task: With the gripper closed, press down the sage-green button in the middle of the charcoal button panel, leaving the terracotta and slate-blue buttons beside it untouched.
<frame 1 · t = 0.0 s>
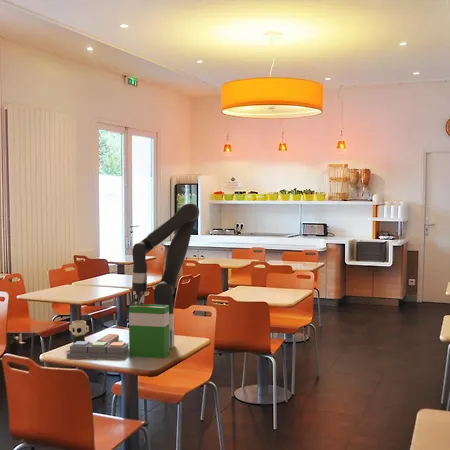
hand: (138, 312, 300), 17 cm above the table, tool pointing down, fingers open, 8 cm apart
terracotta button: (117, 345, 282), point 5 cm above the table, slide at 0.0 cm
packaged product: (107, 346, 302), on the table
green cereal box: (149, 355, 283), on the table
slate button: (81, 344, 284), point 5 cm above the table, slide at 0.0 cm
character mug: (79, 347, 298), on the table
button panel: (99, 355, 283), on the table
sage button: (99, 345, 283), point 5 cm above the table, slide at 0.0 cm
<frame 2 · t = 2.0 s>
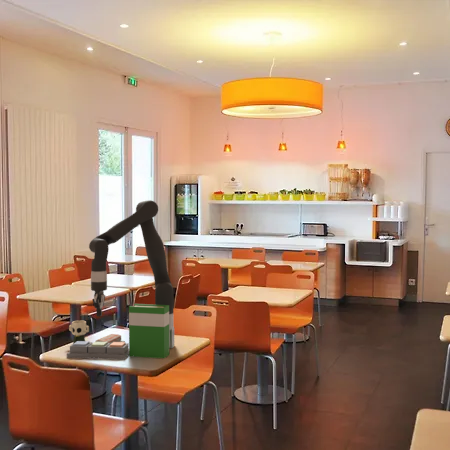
hand: (99, 316, 282), 19 cm above the table, tool pointing down, fingers closed
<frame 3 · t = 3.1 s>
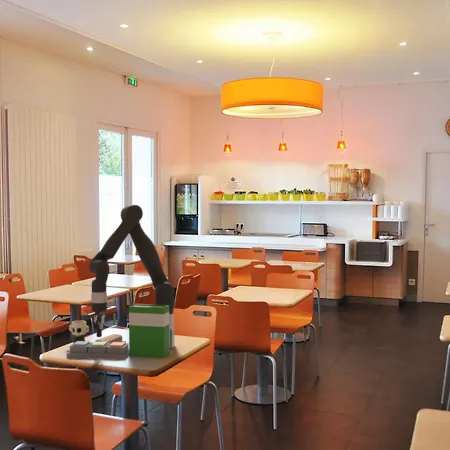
hand: (99, 336, 283), 9 cm above the table, tool pointing down, fingers closed
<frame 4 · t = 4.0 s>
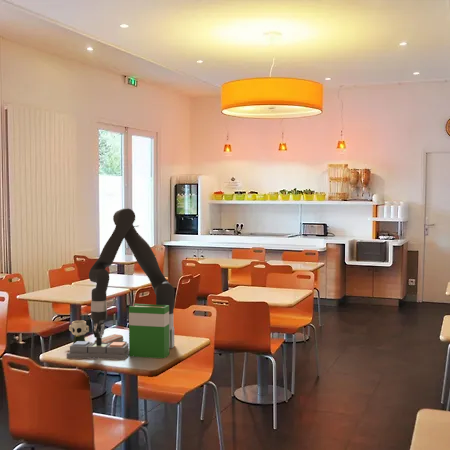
hand: (99, 345, 283), 5 cm above the table, tool pointing down, fingers closed
sage button: (99, 347, 283), point 4 cm above the table, slide at 1.1 cm, touching gripper
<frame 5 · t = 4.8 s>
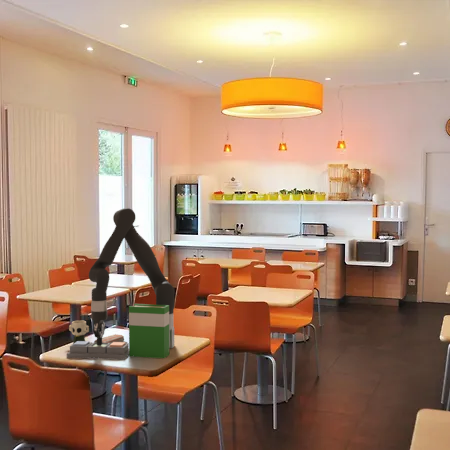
hand: (99, 345, 283), 5 cm above the table, tool pointing down, fingers closed
sage button: (99, 347, 283), point 3 cm above the table, slide at 1.3 cm
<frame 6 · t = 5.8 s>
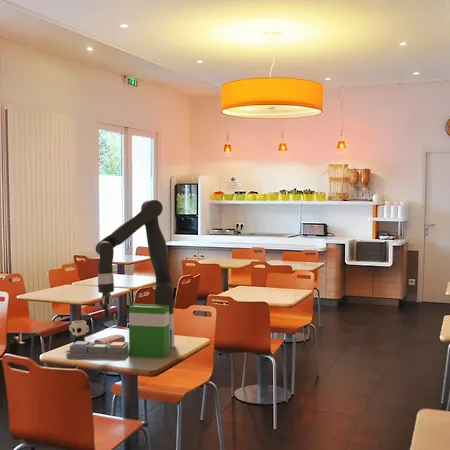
hand: (107, 317, 286), 17 cm above the table, tool pointing down, fingers closed
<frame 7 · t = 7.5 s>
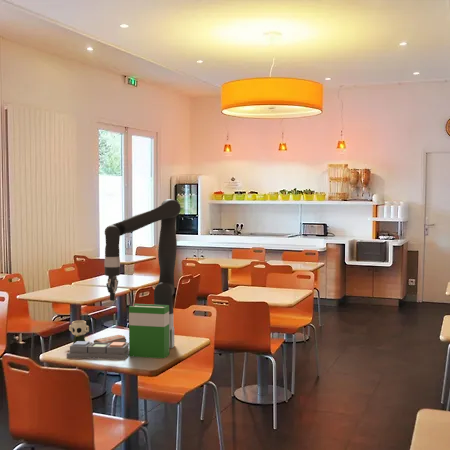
hand: (112, 300, 291), 25 cm above the table, tool pointing down, fingers closed
at the end: sage button slide at 1.3 cm; terracotta button slide at 0.0 cm; slate button slide at 0.0 cm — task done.
